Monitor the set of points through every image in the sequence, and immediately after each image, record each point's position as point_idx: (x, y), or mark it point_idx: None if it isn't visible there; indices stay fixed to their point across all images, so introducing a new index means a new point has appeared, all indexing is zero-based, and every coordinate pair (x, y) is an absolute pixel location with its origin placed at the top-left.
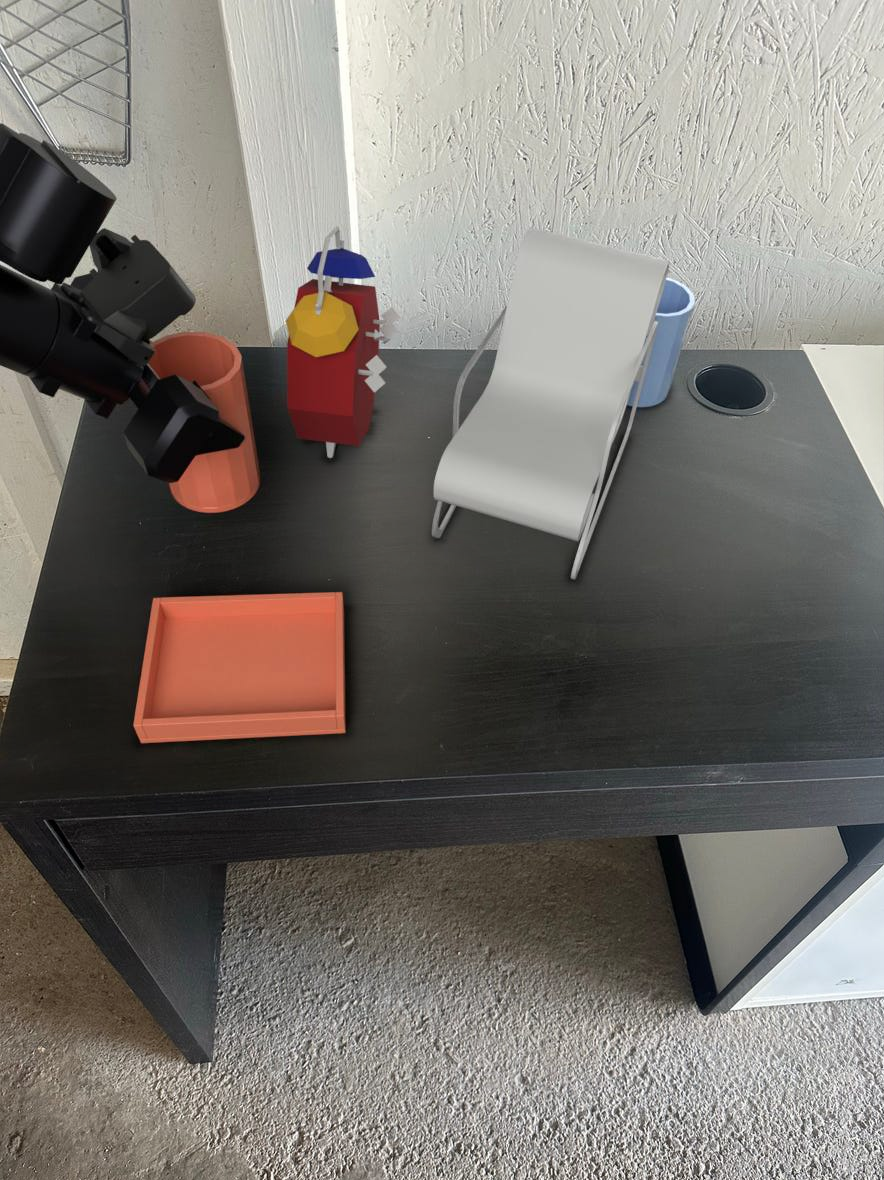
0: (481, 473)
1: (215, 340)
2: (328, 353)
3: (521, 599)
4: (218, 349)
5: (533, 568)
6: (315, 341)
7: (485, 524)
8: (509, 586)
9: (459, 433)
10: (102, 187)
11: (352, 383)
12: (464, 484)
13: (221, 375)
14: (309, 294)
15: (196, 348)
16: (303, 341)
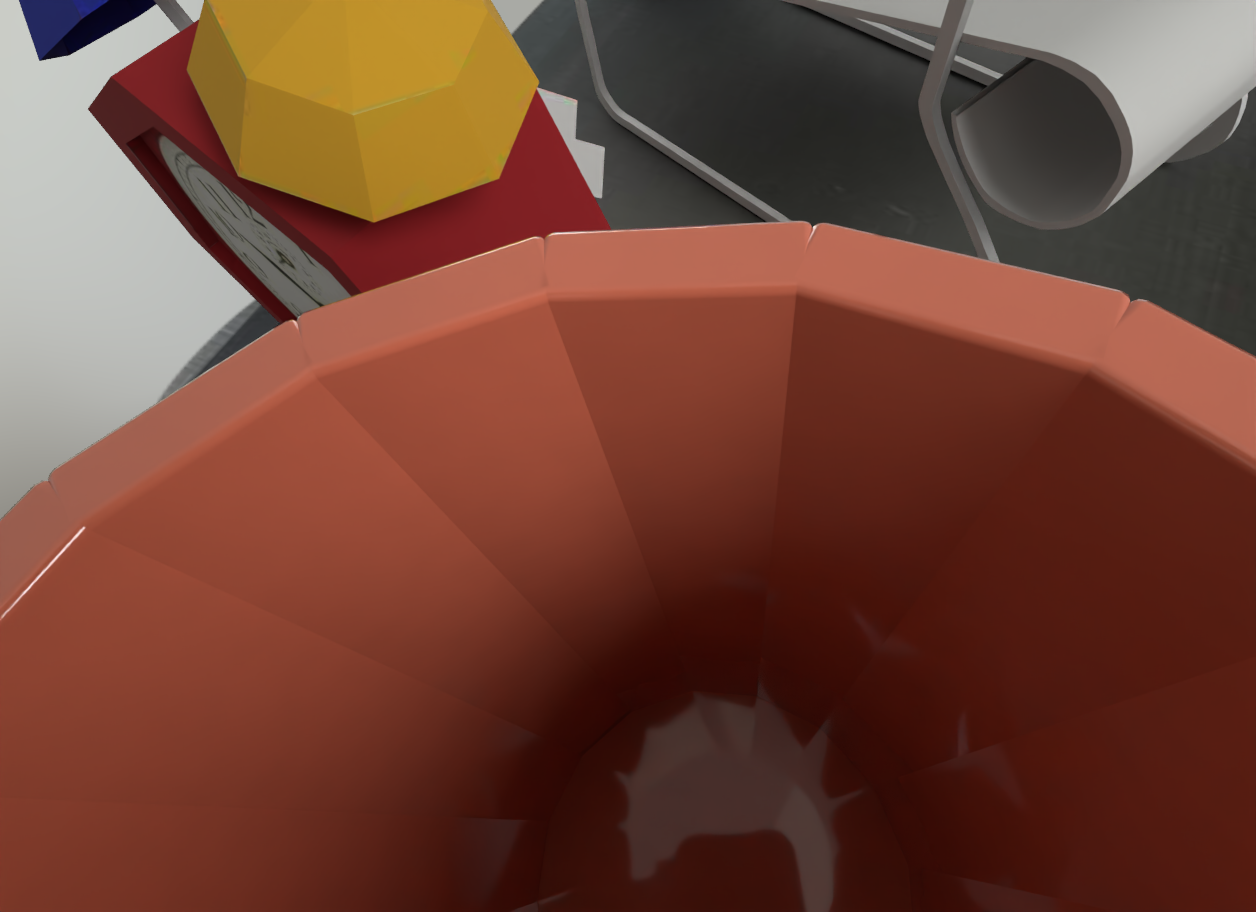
0: (1204, 17)
1: (282, 421)
2: (516, 129)
3: (1217, 262)
4: (369, 473)
5: (1114, 214)
6: (464, 104)
7: (940, 248)
8: (1165, 269)
9: (970, 28)
10: None
11: (590, 197)
12: (1198, 85)
13: (481, 602)
14: (176, 62)
15: (159, 706)
16: (414, 156)
